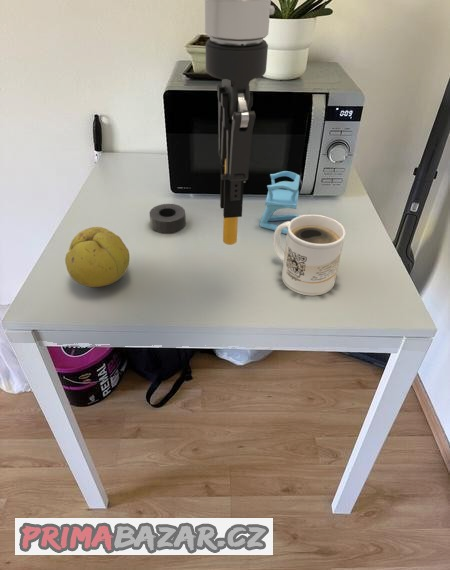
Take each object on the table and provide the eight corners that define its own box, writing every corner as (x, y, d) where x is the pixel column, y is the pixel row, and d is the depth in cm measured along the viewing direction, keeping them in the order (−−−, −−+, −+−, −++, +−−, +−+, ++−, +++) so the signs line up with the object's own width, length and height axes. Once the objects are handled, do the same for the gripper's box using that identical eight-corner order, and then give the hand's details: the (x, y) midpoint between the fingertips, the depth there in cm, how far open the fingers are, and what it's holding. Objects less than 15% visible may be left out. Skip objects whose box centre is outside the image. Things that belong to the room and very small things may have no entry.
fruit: (138, 262, 86) (132, 218, 79) (124, 302, 77) (116, 256, 70) (82, 259, 86) (72, 215, 80) (61, 299, 77) (47, 252, 71)
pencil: (224, 245, 70) (226, 155, 61) (221, 237, 72) (223, 148, 62) (237, 244, 70) (242, 154, 61) (235, 236, 72) (239, 147, 63)
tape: (151, 235, 93) (150, 223, 91) (150, 216, 99) (148, 204, 97) (187, 232, 94) (186, 220, 92) (183, 214, 100) (183, 202, 98)
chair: (262, 214, 101) (266, 164, 93) (299, 218, 99) (306, 168, 92) (257, 232, 95) (261, 180, 87) (296, 236, 94) (304, 185, 86)
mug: (285, 298, 78) (292, 247, 71) (270, 259, 87) (274, 209, 80) (342, 293, 80) (354, 242, 73) (321, 254, 89) (330, 206, 82)
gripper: (284, 52, 47) (266, 236, 62) (253, 26, 59) (244, 186, 74) (215, 53, 46) (214, 240, 61) (197, 26, 58) (200, 189, 73)
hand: (230, 211), depth 68 cm, fingers closed on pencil, 2 cm apart
